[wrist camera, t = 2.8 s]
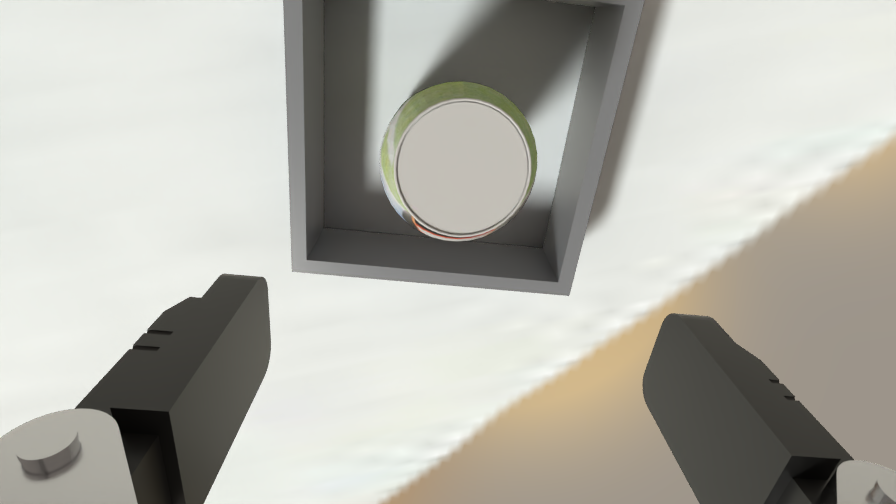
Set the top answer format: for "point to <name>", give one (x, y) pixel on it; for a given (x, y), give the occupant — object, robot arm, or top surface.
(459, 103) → the beverage can
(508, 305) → the top surface
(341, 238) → the bin
